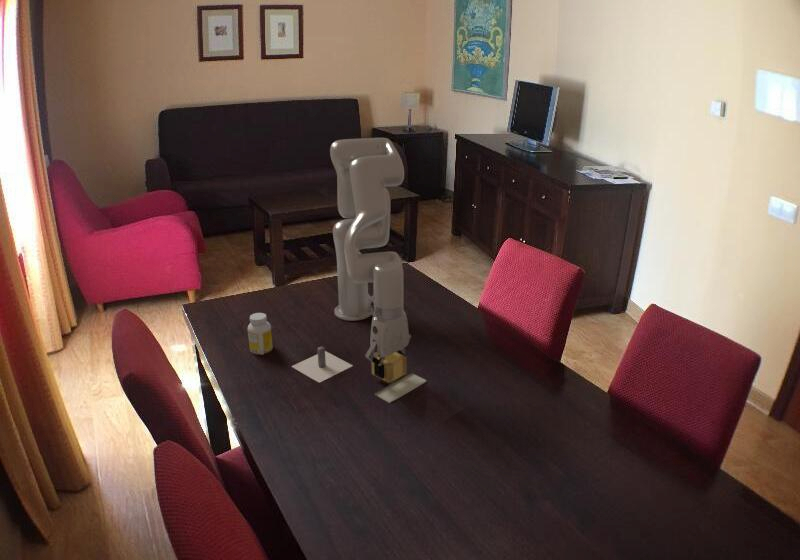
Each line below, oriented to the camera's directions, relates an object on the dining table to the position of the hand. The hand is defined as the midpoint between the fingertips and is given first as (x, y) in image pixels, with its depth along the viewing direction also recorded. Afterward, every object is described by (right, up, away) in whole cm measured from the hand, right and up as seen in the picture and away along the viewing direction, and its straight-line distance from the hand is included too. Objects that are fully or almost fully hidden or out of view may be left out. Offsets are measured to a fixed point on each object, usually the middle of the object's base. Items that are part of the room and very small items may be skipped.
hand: (389, 370), depth 169 cm
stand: (-19, -1, +8) cm, 20 cm away
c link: (0, -1, 0) cm, 1 cm away
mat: (0, -3, +1) cm, 4 cm away
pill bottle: (-37, +3, +16) cm, 41 cm away
